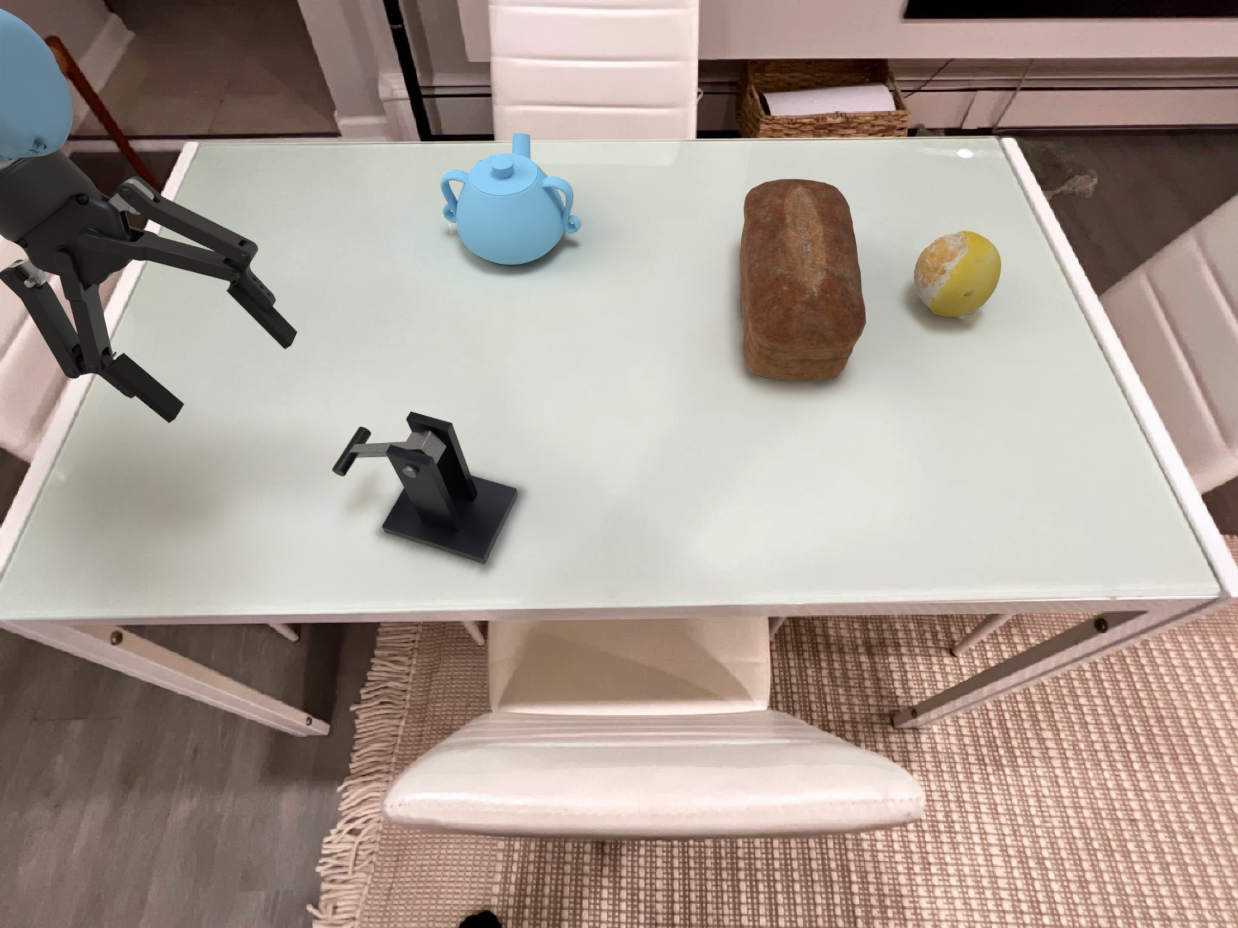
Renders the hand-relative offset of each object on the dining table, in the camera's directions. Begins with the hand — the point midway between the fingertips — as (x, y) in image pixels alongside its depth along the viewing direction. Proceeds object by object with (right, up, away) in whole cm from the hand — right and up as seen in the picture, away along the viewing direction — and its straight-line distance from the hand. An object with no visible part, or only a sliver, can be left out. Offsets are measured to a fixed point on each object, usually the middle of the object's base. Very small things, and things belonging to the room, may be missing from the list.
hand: (233, 378), depth 65 cm
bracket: (+17, -13, +13) cm, 25 cm away
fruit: (+78, +14, +30) cm, 85 cm away
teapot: (+21, +27, +39) cm, 51 cm away
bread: (+58, +13, +30) cm, 66 cm away
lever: (+13, -7, +6) cm, 16 cm away
